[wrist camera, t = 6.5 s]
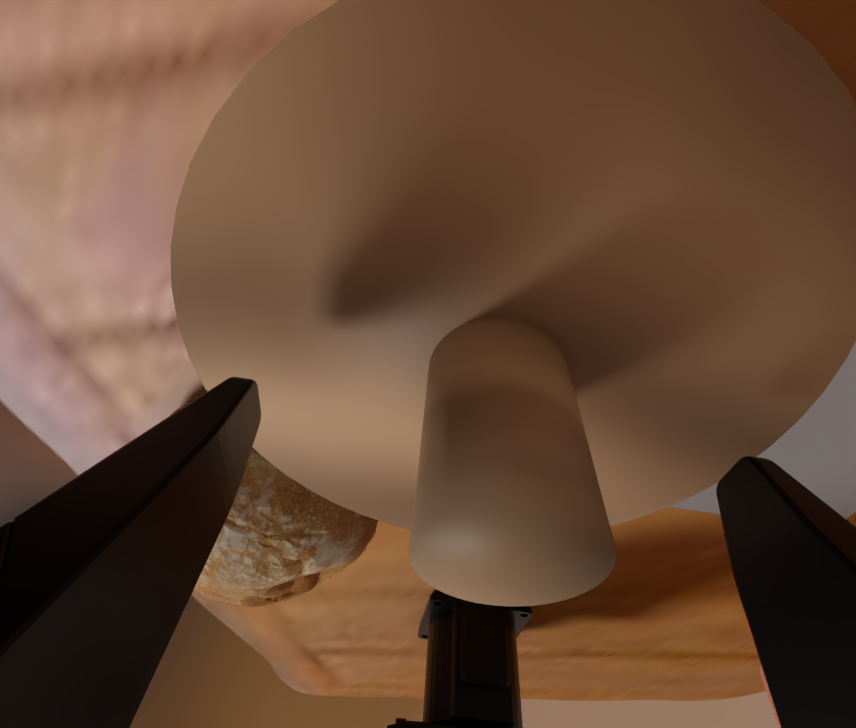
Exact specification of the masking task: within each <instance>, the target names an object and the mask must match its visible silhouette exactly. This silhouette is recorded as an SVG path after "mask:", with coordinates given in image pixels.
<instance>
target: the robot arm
mask: <svg viewBox="0 0 856 728" xmlns="http://www.w3.org/2000/svg"><path fill="white" fill-rule="evenodd" d="M260 421H261V407H260V400H259V392H258V385H257V383H256V381H255V380H252V379H247V378H240V377H230V378H228V379H226V380H225V381H223V382H222V383H220V384H219V385H217V386H215V387H214V388H212V389H211V390H209V391H208V392H206V393H205V394H203V395H202V396H200V397H199V398H197V399H195V400H194V401H192V402H191V403H189V404H188V405H186V406H185V407H183V408H182V409H180V410H179V411H177V412H175V413H174V414H172V415H171V416H169V417H168V418H166V419H165V420H163V421H162V422H160V423H159V424H157V425H155V426H154V427H152V428H151V429H149V430H148V431H146V432H145V433H143V434H142V435H140V436H139V437H137V438H135V439H134V440H132V441H131V442H129V443H128V444H126V445H125V446H123V447H122V448H120V449H119V450H117V451H115V452H114V453H112V454H111V455H109V456H108V457H106V458H105V459H103V460H102V461H100V462H99V463H97V464H95V465H94V466H92V467H91V468H89V469H88V470H86V471H85V472H83V473H82V474H80V475H79V476H77V477H76V478H74V479H72V480H71V481H69V482H68V483H66V484H65V485H63V486H62V487H60V488H59V489H57V490H55V491H54V492H52V493H51V494H49V495H48V496H46V497H45V498H43V499H42V500H40V501H39V502H37V503H35V504H34V505H32V506H31V507H29V508H28V509H26V510H25V511H23V512H22V513H20V514H19V515H17V516H16V517H15V519H14V522H13V521H8V522H6V523H4V524H3V525H1V526H0V728H129V727H130V725H131V723H132V721H133V719H134V717H135V714H136V712H137V710H138V708H139V706H140V704H141V701H142V699H143V697H144V695H145V693H146V691H147V689H148V687H149V684H150V682H151V680H152V678H153V676H154V674H155V671H156V669H157V667H158V665H159V663H160V661H161V659H162V656H163V654H164V652H165V650H166V648H167V646H168V644H169V641H170V639H171V637H172V635H173V633H174V631H175V629H176V626H177V624H178V622H179V620H180V618H181V615H182V613H183V611H184V609H185V607H186V605H187V603H188V601H189V598H190V596H191V594H192V592H193V590H194V588H195V586H196V583H197V581H198V579H199V577H200V575H201V573H202V571H203V568H204V566H205V564H206V562H207V560H208V558H209V555H210V553H211V551H212V549H213V547H214V545H215V543H216V540H217V538H218V536H219V534H220V532H221V530H222V528H223V525H224V523H225V521H226V519H227V517H228V515H229V512H230V510H231V508H232V505H233V503H234V500H235V497H236V494H237V492H238V489H239V486H240V483H241V480H242V477H243V474H244V471H245V468H246V465H247V462H248V459H249V456H250V452H251V449H252V446H253V443H254V440H255V437H256V434H257V431H258V428H259V425H260ZM716 495H717V500H718V505H719V510H720V515H721V520H722V524H723V529H724V534H725V539H726V544H727V548H728V553H729V558H730V563H731V567H732V571H733V575H734V579H735V582H736V586H737V589H738V592H739V596H740V599H741V602H742V605H743V608H744V611H745V615H746V618H747V621H748V624H749V627H750V630H751V634H752V637H753V640H754V643H755V646H756V649H757V653H758V656H759V659H760V662H761V665H762V669H763V672H764V675H765V678H766V681H767V684H768V688H769V691H770V694H771V697H772V700H773V703H774V707H775V710H776V713H777V716H778V719H779V722H780V726H781V728H856V527H855V526H854V525H852V524H851V523H850V522H849V521H847V520H846V519H845V518H844V517H842V516H841V515H840V514H839V513H837V512H836V511H835V510H834V509H832V508H831V507H830V506H829V505H827V504H826V503H825V502H824V501H822V500H821V499H820V498H818V497H817V496H816V495H815V494H813V493H812V492H811V491H810V490H808V489H807V488H806V487H805V486H803V485H802V484H801V483H800V482H798V481H797V480H796V479H795V478H793V477H792V476H791V475H790V474H788V473H787V472H786V471H785V470H783V469H782V468H781V467H779V466H778V465H777V464H776V463H774V462H773V461H771V460H769V459H765V458H759V457H753V456H745V457H742V458H741V459H739V460H738V461H737V462H736V463H735V465H734V466H733V467H732V468H731V469H730V470H729V471H728V472H727V473H726V474H725V475H724V476H723V477H722V478H721V479H720V481H719V482H718V484H717V488H716ZM531 617H532V609H531V607H529V606H495V605H486V604H480V603H474V602H470V601H466V600H462V599H459V598H456V597H453V596H450V595H447V594H439V593H435V594H431V595H430V597H429V600H428V603H427V606H426V609H425V612H424V615H423V618H422V620H421V623H420V626H419V629H418V637H419V638H421V639H427V640H428V647H427V662H426V678H425V694H424V710H423V722H417V721H406V719H403V718H397V719H396V724H393V725H389V726H387V728H523V727H522V713H521V699H520V685H519V671H518V657H517V643H516V638H517V636H518V635H519V633H520V632H521V631H522V629H523V628H524V627H525V625H526V624H527V622H528V621H529V620H530V618H531Z"/></svg>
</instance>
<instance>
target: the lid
mask: <svg viewBox="0 0 856 728" xmlns="http://www.w3.org/2000/svg"><path fill="white" fill-rule="evenodd" d="M171 281H172V292H173V298H174V303H175V309H176V315H177V320H178V325H179V328H180V331H181V334H182V337H183V340H184V343H185V346H186V349H187V352H188V355H189V357H190V359H191V361H192V363H193V365H194V367H195V369H196V371H197V373H198V375H199V377H200V379H201V382H202V384H203V386H204V387H205V389H206V390H207V392H208V391H209V390H211V389H212V388H214V387H215V386H217V385H219V384H220V383H222V382H223V381H225V380H226V379H228V378H230V377H240V378H247V379H252V380H255V381H256V383H257V385H258V392H259V400H260V407H261V421H260V425H259V428H258V431H257V434H256V437H255V440H254V443H253V446H252V447H253V448H254V449H255V450H256V451H257V452H258V453H259V454H260V455H261V456H263V457H264V458H265V459H266V460H268V461H269V462H270V463H271V464H273V465H274V466H275V467H277V468H278V469H279V470H280V471H282V472H283V473H284V474H286V475H287V476H289V477H290V478H292V479H293V480H295V481H296V482H298V483H299V484H301V485H303V486H304V487H306V488H307V489H309V490H310V491H312V492H314V493H316V494H318V495H320V496H322V497H324V498H326V499H328V500H329V501H331V502H333V503H335V504H337V505H340V506H342V507H345V508H347V509H349V510H352V511H354V512H356V513H359V514H361V515H364V516H367V517H370V518H373V519H376V520H379V521H382V522H385V523H388V524H391V525H395V526H399V527H403V528H407V529H411V539H410V548H409V559H410V563H411V565H412V568H413V569H414V571H415V572H416V574H417V575H418V576H419V577H420V578H421V579H422V580H424V581H425V582H426V583H427V584H429V585H430V586H432V587H434V588H435V589H437V590H439V591H441V592H443V593H445V594H448V595H450V596H453V597H456V598H459V599H462V600H466V601H470V602H474V603H480V604H486V605H495V606H535V605H544V604H550V603H555V602H559V601H563V600H567V599H570V598H573V597H576V596H579V595H581V594H583V593H586V592H588V591H589V590H591V589H593V588H595V587H596V586H598V585H599V584H600V583H602V582H603V581H604V580H605V579H606V578H607V577H608V576H609V575H610V573H611V572H612V571H613V569H614V566H615V564H616V559H617V554H616V548H615V544H614V540H613V536H612V532H611V529H610V526H613V525H617V524H621V523H624V522H627V521H631V520H634V519H637V518H640V517H643V516H646V515H649V514H652V513H655V512H657V511H659V510H662V509H664V508H667V507H669V506H672V505H674V504H677V503H679V502H682V501H684V500H686V499H688V498H689V497H691V496H693V495H695V494H697V493H699V492H701V491H703V490H705V489H707V488H709V487H711V486H713V485H715V484H716V483H718V482H719V481H720V479H721V478H722V477H723V476H724V475H725V474H726V473H727V472H728V471H729V470H730V469H731V468H732V467H733V466H734V465H735V463H736V462H737V461H738V460H739V459H741V458H742V457H745V456H753V457H757V456H758V455H760V454H761V453H762V452H764V451H765V450H766V449H768V448H769V447H770V446H771V445H773V444H774V443H775V442H776V441H777V440H778V439H779V438H780V437H781V436H782V435H784V434H785V433H786V432H787V431H788V430H789V429H790V428H791V427H792V426H793V425H794V424H796V423H797V422H798V421H799V420H800V418H801V417H802V416H803V415H804V414H805V413H806V412H807V411H808V409H809V408H810V407H811V406H812V405H813V404H814V403H815V401H816V400H817V399H818V398H819V397H820V396H821V395H822V393H823V392H824V391H825V390H826V388H827V387H828V385H829V384H830V382H831V381H832V379H833V378H834V376H835V375H836V374H837V372H838V371H839V369H840V368H841V366H842V365H843V363H844V362H845V360H846V359H847V357H848V355H849V353H850V351H851V349H852V347H853V345H854V343H855V341H856V104H855V102H854V100H853V98H852V96H851V94H850V92H849V90H848V88H847V87H846V86H845V84H844V83H843V82H842V81H841V79H840V78H839V77H838V75H837V74H836V73H835V72H834V70H833V69H832V68H831V67H830V65H829V64H828V63H827V62H826V60H825V59H824V58H823V57H822V55H821V54H820V53H819V51H818V50H817V49H816V48H815V46H814V45H813V44H812V43H811V42H810V41H809V40H808V39H806V38H805V37H804V36H803V35H802V34H800V33H799V32H798V31H797V30H795V29H794V28H793V27H792V26H791V25H789V24H788V23H787V22H786V21H785V20H783V19H782V18H781V17H780V16H778V15H777V14H776V13H775V12H774V11H772V10H771V9H770V8H769V7H767V6H766V5H765V4H764V3H763V2H761V1H759V0H339V1H338V2H336V3H335V4H333V5H332V6H330V7H329V8H327V9H326V10H324V11H323V12H321V13H319V14H318V15H316V16H315V17H313V18H312V19H310V20H309V21H307V22H306V23H304V24H303V25H301V26H300V27H298V28H297V29H295V30H294V31H292V32H291V33H290V34H289V35H288V36H287V37H286V38H285V39H284V40H283V41H282V42H280V43H279V44H278V45H277V46H276V47H275V48H274V49H273V50H272V51H271V52H270V53H269V54H268V55H266V56H265V57H264V58H263V59H262V60H261V61H260V62H259V63H258V64H257V65H256V66H255V67H254V68H252V69H251V70H250V71H249V72H248V73H247V75H246V76H245V77H244V79H243V80H242V81H241V83H240V84H239V85H238V87H237V88H236V89H235V90H234V92H233V93H232V94H231V96H230V97H229V98H228V100H227V101H226V102H225V104H224V105H223V106H222V108H221V109H220V110H219V111H218V113H217V114H216V115H215V117H214V119H213V121H212V122H211V124H210V126H209V128H208V130H207V132H206V134H205V136H204V138H203V140H202V142H201V143H200V145H199V147H198V149H197V151H196V153H195V155H194V157H193V159H192V161H191V163H190V166H189V170H188V173H187V176H186V179H185V182H184V185H183V188H182V191H181V194H180V198H179V201H178V204H177V208H176V215H175V222H174V229H173V236H172V243H171Z"/></svg>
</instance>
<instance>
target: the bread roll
mask: <svg viewBox="0 0 856 728" xmlns="http://www.w3.org/2000/svg"><path fill="white" fill-rule="evenodd" d="M187 405H188V404H187ZM185 406H186V405H184V406H183V407H185ZM183 407H181V408H179V409H177V410H176V411H175V412H177V411H179V410H180V409H182V408H183ZM175 412H174V413H175ZM174 413H173V414H174ZM171 415H172V414H171ZM171 415H170V416H171ZM377 522H378V520H376V519H373V518H370V517H367V516H364V515H361V514H359V513H356V512H354V511H352V510H349V509H347V508H345V507H342V506H340V505H337V504H335V503H333V502H331V501H329V500H328V499H326V498H324V497H322V496H320V495H318V494H316V493H314V492H312V491H310V490H309V489H307V488H306V487H304V486H303V485H301V484H299V483H298V482H296V481H295V480H293V479H292V478H290V477H289V476H287V475H286V474H284V473H283V472H282V471H280V470H279V469H278V468H277V467H275V466H274V465H273V464H271V463H270V462H269V461H268V460H266V459H265V458H264V457H263V456H261V455H260V454H259V453H258V452H257V451H256V450H255V449H254V448H253V447H252V449H251V452H250V456H249V459H248V462H247V465H246V468H245V471H244V474H243V477H242V480H241V483H240V486H239V489H238V492H237V494H236V497H235V500H234V503H233V505H232V508H231V510H230V512H229V515H228V517H227V519H226V521H225V523H224V525H223V528H222V530H221V532H220V534H219V536H218V538H217V540H216V543H215V545H214V547H213V549H212V551H211V553H210V555H209V558H208V560H207V562H206V564H205V566H204V568H203V571H202V573H201V575H200V577H199V579H198V581H197V583H196V586H195V588H194V590H195V591H197V592H198V593H200V594H201V595H203V596H204V597H206V598H208V599H212V600H215V601H219V602H222V603H224V604H226V605H231V606H241V607H262V606H265V605H269V604H272V603H276V602H281V601H285V600H287V599H291V598H293V597H296V596H298V595H301V594H304V593H306V592H307V591H309V590H311V589H313V588H314V587H315V586H316V585H318V584H319V583H321V582H322V581H323V580H324V579H326V578H329V577H331V576H332V575H333V574H335V573H337V572H339V571H341V570H342V569H344V568H345V567H347V566H349V565H351V564H352V563H353V562H355V561H356V560H357V559H358V558H359V556H360V555H361V554H362V553H363V552H364V551H365V550H366V546H367V544H368V543H369V542H370V541H371V539H372V538H373V537H374V534H375V532H376V526H377Z"/></svg>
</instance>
